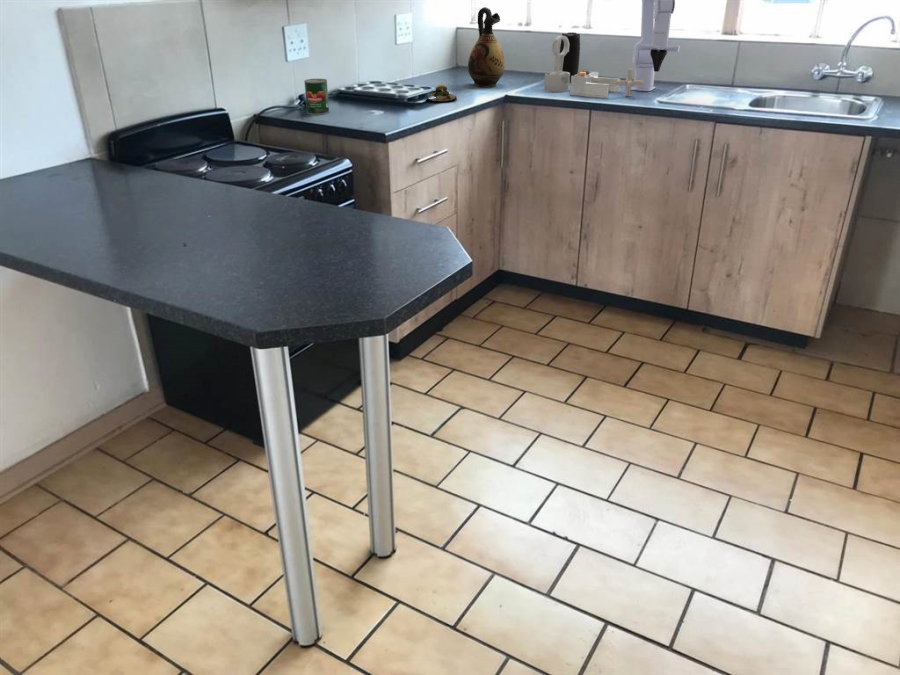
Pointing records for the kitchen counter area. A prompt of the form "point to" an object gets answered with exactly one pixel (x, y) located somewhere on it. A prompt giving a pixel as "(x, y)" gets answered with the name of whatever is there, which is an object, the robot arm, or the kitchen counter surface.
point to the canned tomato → (316, 96)
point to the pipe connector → (629, 82)
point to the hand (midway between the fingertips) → (656, 71)
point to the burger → (442, 94)
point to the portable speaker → (571, 54)
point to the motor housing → (592, 85)
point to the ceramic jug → (486, 53)
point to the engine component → (558, 69)
